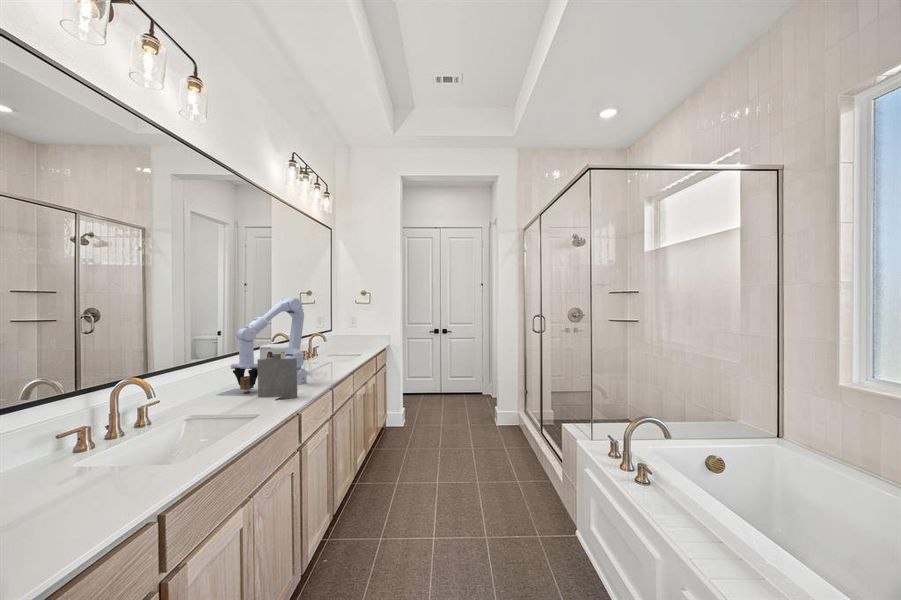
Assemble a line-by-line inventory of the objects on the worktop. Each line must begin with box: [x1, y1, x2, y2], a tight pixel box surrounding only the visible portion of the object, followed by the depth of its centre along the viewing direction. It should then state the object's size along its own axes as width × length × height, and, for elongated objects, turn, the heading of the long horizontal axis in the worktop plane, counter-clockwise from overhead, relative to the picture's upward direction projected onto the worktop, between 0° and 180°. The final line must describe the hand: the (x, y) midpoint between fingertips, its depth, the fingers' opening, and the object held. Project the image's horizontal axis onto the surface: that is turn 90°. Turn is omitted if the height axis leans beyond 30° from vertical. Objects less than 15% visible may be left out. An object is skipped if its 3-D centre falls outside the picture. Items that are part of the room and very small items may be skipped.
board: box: [216, 388, 258, 397], centre depth 167 cm, size 18×12×2 cm, turn 81°
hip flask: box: [256, 353, 298, 401], centre depth 160 cm, size 16×4×20 cm, turn 100°
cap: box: [239, 375, 255, 390], centre depth 165 cm, size 5×5×5 cm
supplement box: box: [259, 343, 289, 359], centre depth 209 cm, size 17×13×18 cm
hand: (246, 385), depth 165 cm, fingers closed on cap, 5 cm apart
